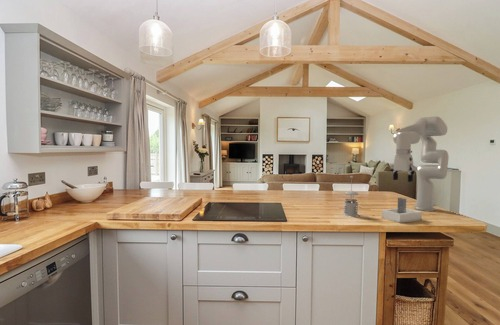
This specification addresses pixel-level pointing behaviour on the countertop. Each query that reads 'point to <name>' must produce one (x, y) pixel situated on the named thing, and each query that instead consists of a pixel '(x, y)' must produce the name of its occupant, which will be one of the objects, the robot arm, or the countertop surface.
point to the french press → (351, 204)
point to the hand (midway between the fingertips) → (402, 180)
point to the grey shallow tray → (401, 215)
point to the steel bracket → (401, 205)
